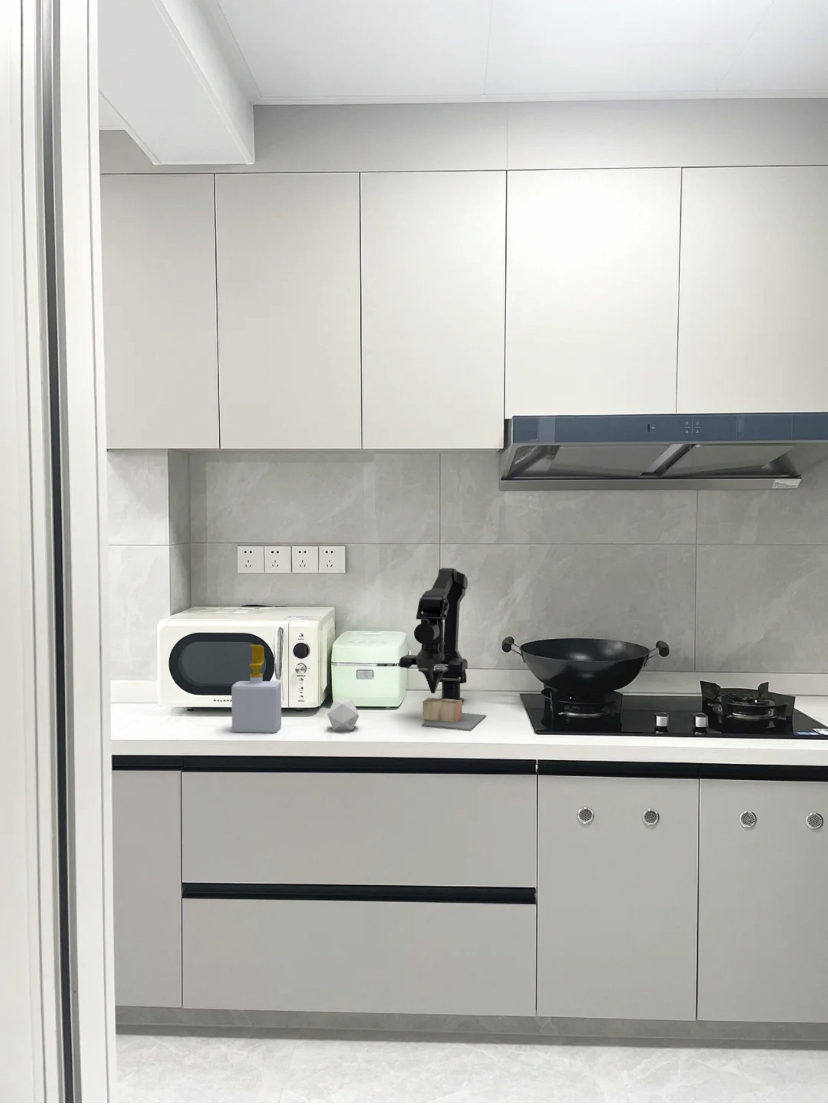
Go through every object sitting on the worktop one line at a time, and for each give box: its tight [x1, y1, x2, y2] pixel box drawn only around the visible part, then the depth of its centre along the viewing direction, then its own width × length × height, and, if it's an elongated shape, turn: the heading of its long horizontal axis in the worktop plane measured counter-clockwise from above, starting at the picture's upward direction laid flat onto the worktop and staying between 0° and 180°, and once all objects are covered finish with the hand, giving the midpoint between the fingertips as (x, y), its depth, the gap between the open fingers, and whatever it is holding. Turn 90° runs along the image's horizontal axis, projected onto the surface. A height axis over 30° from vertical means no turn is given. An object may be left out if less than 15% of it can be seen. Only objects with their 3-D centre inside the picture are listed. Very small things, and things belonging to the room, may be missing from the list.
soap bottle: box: [231, 644, 282, 734], centre depth 223 cm, size 12×7×23 cm, turn 87°
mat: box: [421, 712, 487, 732], centre depth 232 cm, size 16×14×1 cm
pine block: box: [422, 697, 463, 722], centre depth 234 cm, size 5×5×10 cm
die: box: [327, 699, 360, 732], centre depth 224 cm, size 8×9×10 cm
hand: (433, 693), depth 234 cm, fingers closed
